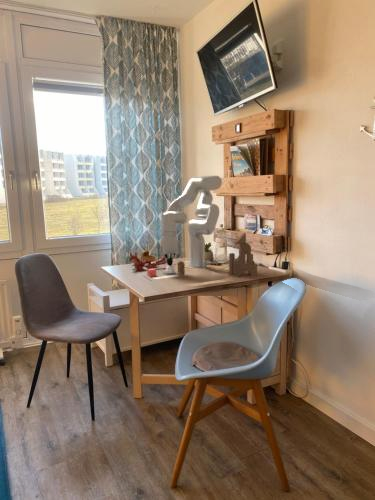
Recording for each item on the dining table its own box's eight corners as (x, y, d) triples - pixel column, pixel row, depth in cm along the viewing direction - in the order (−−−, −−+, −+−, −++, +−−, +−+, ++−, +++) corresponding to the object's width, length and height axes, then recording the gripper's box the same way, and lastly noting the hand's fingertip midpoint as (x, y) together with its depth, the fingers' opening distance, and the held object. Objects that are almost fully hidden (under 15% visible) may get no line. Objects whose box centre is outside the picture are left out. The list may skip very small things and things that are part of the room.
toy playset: (125, 265, 259) (124, 244, 257) (163, 262, 265) (163, 242, 263) (130, 276, 225) (129, 253, 223) (173, 273, 231) (173, 251, 229)
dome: (172, 271, 226) (172, 263, 226) (176, 273, 222) (175, 265, 221) (164, 272, 224) (164, 264, 223) (168, 274, 219) (167, 266, 219)
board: (178, 273, 230) (177, 264, 229) (188, 277, 218) (188, 268, 217) (142, 277, 220) (142, 268, 219) (151, 283, 207) (151, 273, 206)
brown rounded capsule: (182, 273, 222) (182, 260, 221) (186, 275, 218) (185, 261, 217) (176, 274, 220) (176, 261, 219) (179, 276, 216) (179, 262, 215)
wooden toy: (253, 272, 228) (253, 231, 224) (257, 275, 221) (257, 232, 217) (228, 274, 225) (228, 232, 221) (231, 277, 218) (232, 234, 214)
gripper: (178, 232, 226) (178, 262, 229) (154, 234, 219) (155, 265, 222) (183, 233, 219) (184, 264, 222) (159, 235, 212) (160, 267, 215)
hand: (169, 264), depth 222 cm, fingers closed
